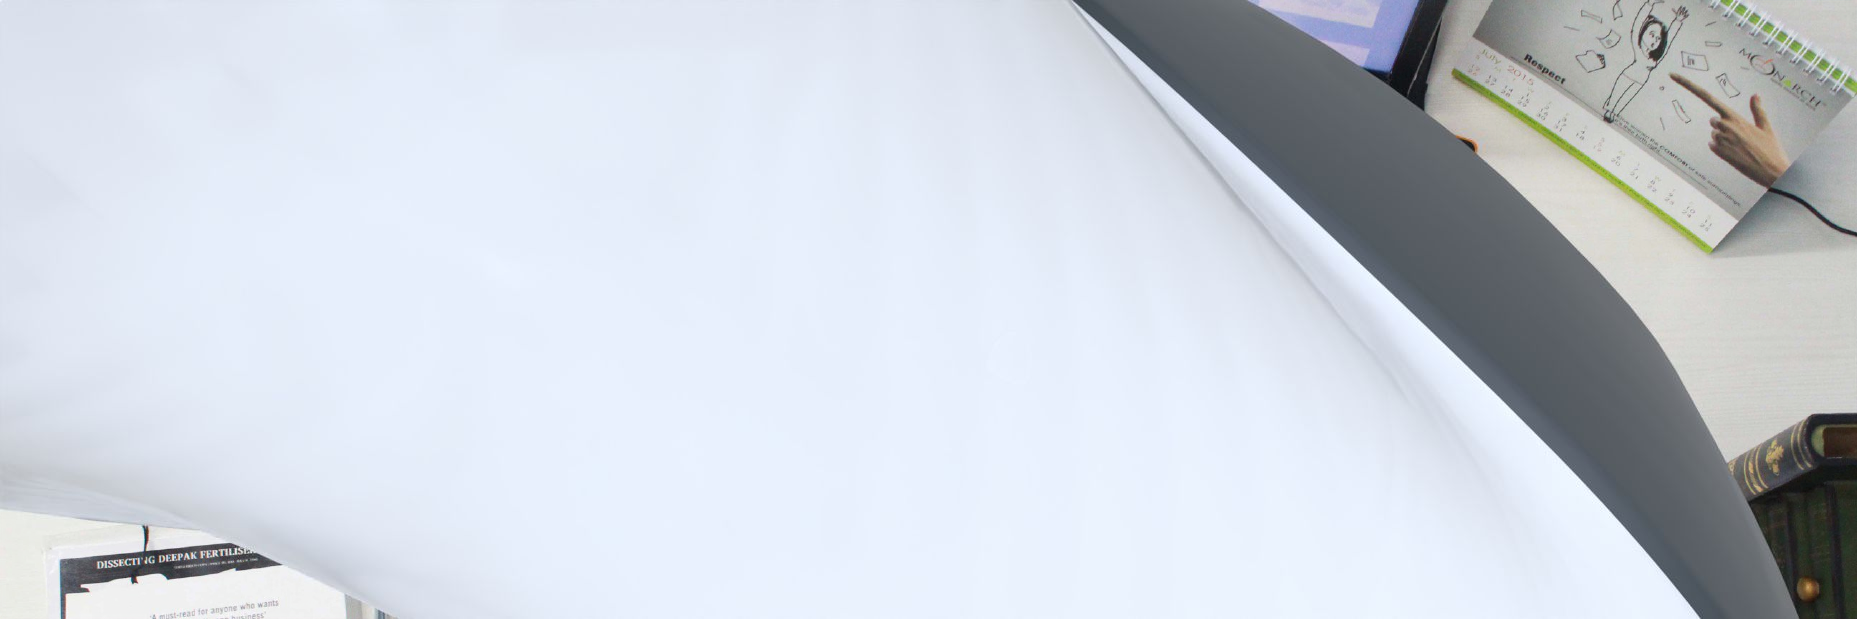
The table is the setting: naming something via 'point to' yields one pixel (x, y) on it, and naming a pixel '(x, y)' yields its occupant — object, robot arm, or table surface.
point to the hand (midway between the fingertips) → (786, 386)
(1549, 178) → the table surface
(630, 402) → the robot arm
